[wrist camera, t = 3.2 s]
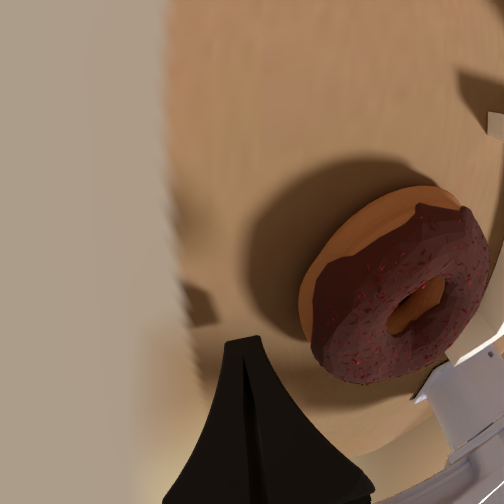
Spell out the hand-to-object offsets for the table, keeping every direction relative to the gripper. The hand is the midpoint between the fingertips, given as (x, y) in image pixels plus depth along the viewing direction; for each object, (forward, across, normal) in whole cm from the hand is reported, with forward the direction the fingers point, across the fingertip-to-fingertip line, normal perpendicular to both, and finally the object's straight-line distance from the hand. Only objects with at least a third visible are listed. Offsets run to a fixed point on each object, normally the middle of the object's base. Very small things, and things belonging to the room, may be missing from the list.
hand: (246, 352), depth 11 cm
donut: (+2, -7, 0) cm, 8 cm away
